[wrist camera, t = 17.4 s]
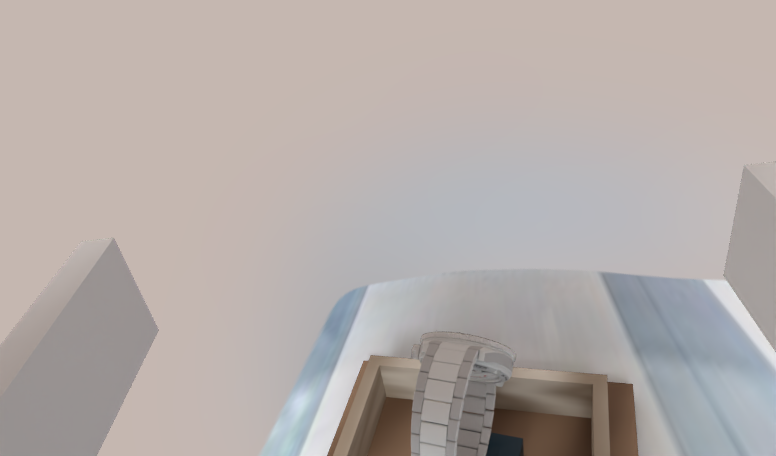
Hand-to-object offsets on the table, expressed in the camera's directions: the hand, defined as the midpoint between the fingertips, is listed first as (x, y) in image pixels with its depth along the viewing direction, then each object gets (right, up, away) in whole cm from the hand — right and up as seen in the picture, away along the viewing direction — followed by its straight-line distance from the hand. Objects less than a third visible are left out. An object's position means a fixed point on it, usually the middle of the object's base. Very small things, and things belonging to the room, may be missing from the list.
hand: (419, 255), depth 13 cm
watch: (+4, -14, +21) cm, 26 cm away
